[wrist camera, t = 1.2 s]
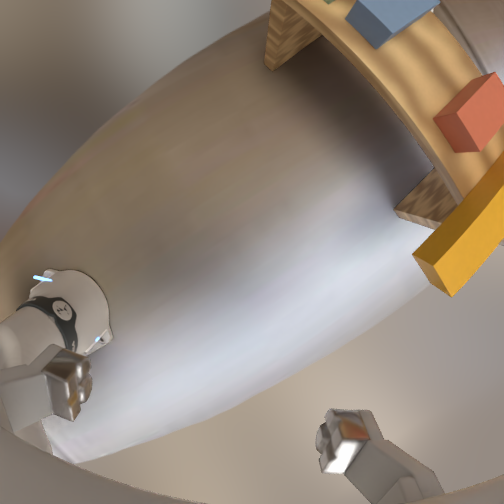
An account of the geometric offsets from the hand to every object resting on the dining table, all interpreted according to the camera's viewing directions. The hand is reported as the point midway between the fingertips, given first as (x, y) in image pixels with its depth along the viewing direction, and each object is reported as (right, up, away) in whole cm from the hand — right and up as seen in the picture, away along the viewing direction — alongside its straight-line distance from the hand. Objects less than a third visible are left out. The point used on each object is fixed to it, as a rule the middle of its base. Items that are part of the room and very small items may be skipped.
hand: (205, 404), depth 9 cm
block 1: (+14, +27, +12) cm, 32 cm away
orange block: (+25, +10, +16) cm, 31 cm away
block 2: (+22, +18, +14) cm, 32 cm away
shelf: (+19, +27, +36) cm, 49 cm away
